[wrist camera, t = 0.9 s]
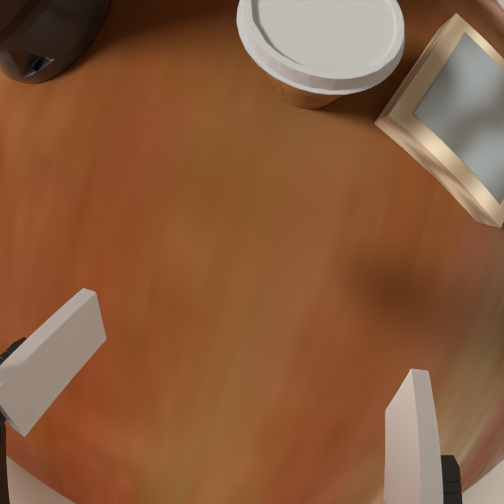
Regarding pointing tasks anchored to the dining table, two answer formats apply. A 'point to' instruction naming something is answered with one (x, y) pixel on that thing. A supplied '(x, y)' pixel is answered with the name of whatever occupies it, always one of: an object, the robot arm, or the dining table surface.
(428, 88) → the birch base block
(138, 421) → the dining table surface
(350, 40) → the disposable coffee cup
